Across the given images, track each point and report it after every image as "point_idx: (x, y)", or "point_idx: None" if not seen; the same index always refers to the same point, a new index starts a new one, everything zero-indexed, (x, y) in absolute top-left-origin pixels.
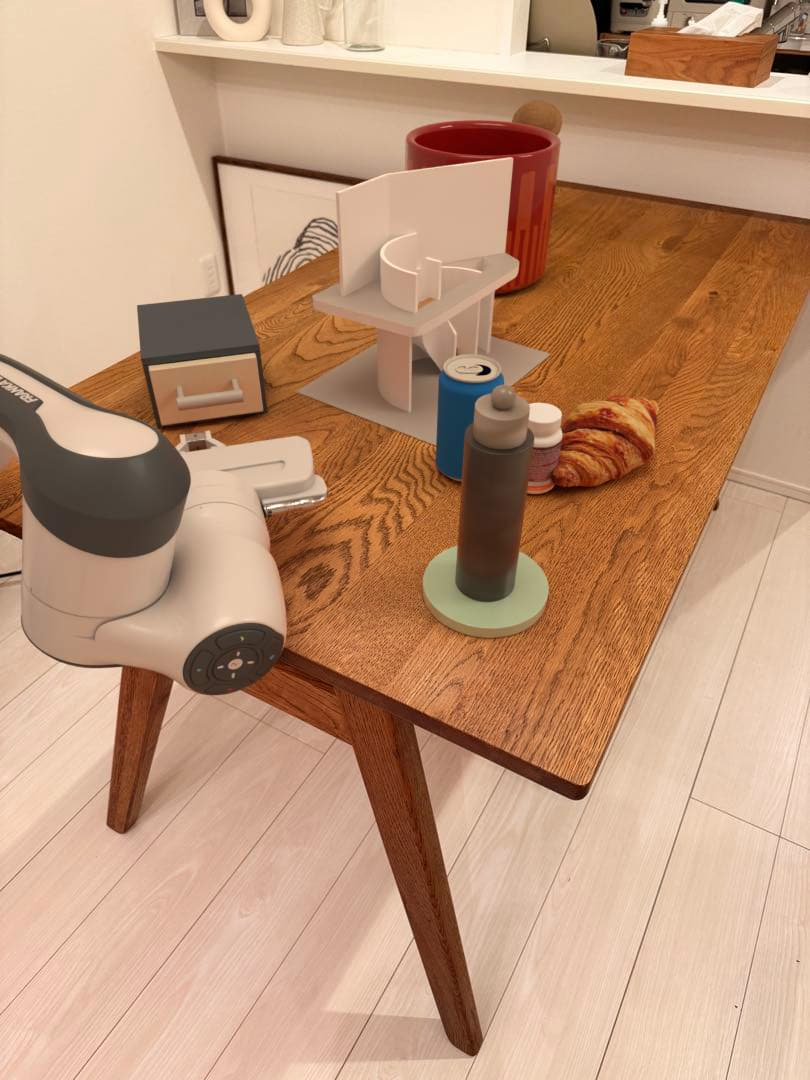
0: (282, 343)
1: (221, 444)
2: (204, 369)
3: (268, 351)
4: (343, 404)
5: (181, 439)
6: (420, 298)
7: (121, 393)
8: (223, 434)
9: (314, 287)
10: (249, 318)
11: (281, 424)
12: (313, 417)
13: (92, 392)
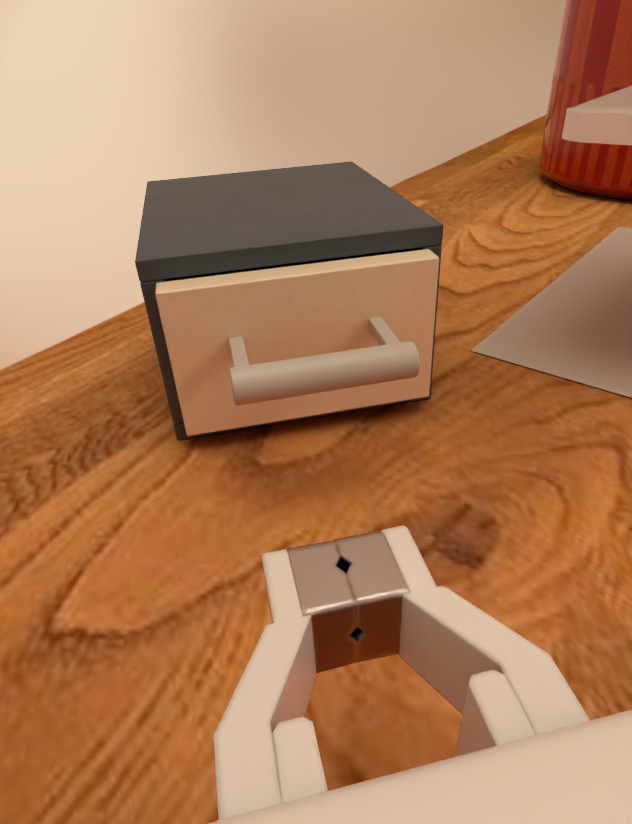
0: None
1: (523, 651)
2: (303, 290)
3: None
4: (599, 377)
5: (275, 593)
6: None
7: (111, 358)
8: (340, 458)
9: (417, 202)
10: (388, 188)
11: (477, 429)
12: (547, 410)
13: (56, 357)
